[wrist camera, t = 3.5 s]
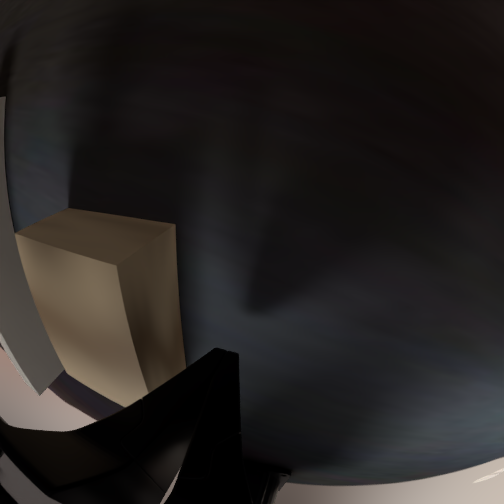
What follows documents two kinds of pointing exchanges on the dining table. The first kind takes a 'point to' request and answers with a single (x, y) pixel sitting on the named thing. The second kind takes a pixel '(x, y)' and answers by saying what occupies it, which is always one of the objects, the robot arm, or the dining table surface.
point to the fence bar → (21, 302)
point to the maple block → (107, 298)
